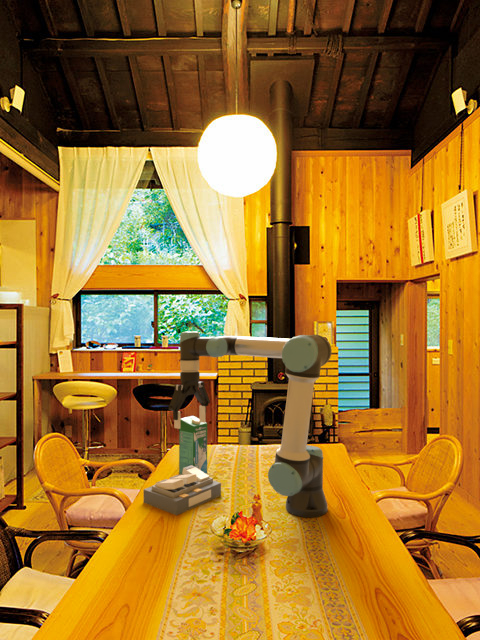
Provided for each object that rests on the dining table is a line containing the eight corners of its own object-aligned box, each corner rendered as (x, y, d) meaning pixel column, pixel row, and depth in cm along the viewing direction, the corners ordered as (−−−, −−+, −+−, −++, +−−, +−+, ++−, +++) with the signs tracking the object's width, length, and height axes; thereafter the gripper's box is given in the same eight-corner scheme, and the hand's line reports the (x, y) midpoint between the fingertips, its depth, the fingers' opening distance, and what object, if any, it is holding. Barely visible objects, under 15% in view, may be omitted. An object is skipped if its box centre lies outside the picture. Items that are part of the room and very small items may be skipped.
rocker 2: (197, 480, 180) (196, 473, 180) (187, 484, 176) (186, 477, 176) (179, 481, 186) (178, 474, 186) (170, 484, 182) (169, 477, 182)
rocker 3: (208, 481, 186) (209, 475, 185) (199, 485, 182) (200, 478, 181) (190, 470, 192) (192, 464, 191) (182, 473, 188) (183, 467, 187)
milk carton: (193, 478, 205) (193, 421, 205) (178, 473, 210) (179, 418, 210) (207, 472, 212) (207, 417, 212) (192, 468, 217) (192, 415, 217)
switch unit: (221, 495, 185) (221, 478, 185) (176, 515, 166) (177, 496, 166) (188, 485, 196) (188, 469, 196) (143, 502, 177) (143, 485, 177)
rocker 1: (184, 485, 174) (182, 478, 175) (174, 489, 170) (173, 482, 171) (166, 486, 180) (165, 479, 181) (156, 489, 176) (155, 482, 177)
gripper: (205, 367, 196) (205, 418, 195) (158, 373, 176) (159, 429, 176) (218, 368, 191) (218, 420, 191) (172, 374, 172) (172, 432, 171)
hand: (190, 425), depth 183 cm, fingers open, 13 cm apart
